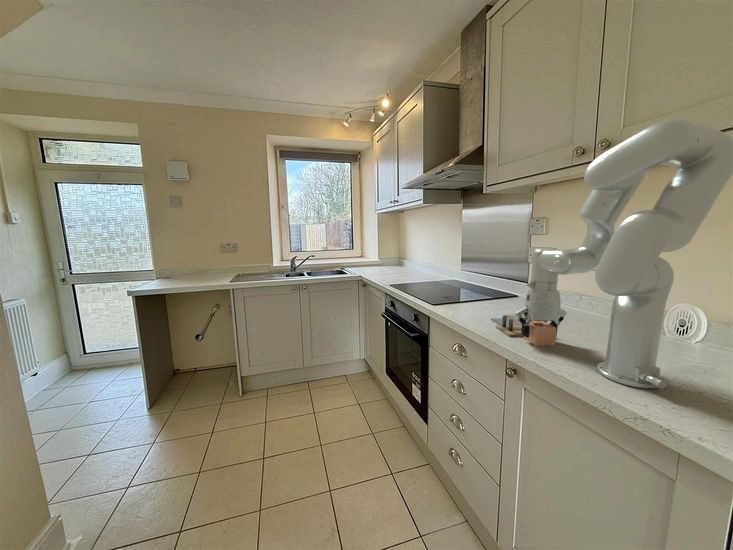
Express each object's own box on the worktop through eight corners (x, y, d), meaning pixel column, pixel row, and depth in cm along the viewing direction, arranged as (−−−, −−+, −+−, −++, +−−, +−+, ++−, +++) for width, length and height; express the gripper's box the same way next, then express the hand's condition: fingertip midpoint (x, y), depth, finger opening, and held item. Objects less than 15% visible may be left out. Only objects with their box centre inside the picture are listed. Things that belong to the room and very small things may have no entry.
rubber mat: (529, 325, 115) (529, 324, 115) (501, 326, 114) (502, 325, 114) (516, 319, 124) (516, 317, 123) (491, 319, 123) (491, 318, 123)
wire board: (553, 335, 104) (553, 333, 104) (509, 336, 103) (509, 334, 103) (535, 326, 114) (535, 324, 114) (495, 327, 113) (495, 325, 113)
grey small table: (546, 332, 104) (548, 320, 104) (513, 333, 104) (514, 321, 103) (532, 325, 113) (533, 313, 112) (501, 326, 112) (502, 314, 111)
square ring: (555, 345, 95) (556, 327, 95) (535, 345, 95) (537, 328, 94) (542, 337, 102) (543, 321, 101) (523, 338, 102) (525, 321, 101)
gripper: (524, 288, 92) (520, 340, 94) (577, 287, 92) (571, 339, 95) (511, 284, 99) (508, 332, 102) (560, 283, 100) (555, 331, 103)
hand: (538, 335), depth 98 cm, fingers open, 9 cm apart
